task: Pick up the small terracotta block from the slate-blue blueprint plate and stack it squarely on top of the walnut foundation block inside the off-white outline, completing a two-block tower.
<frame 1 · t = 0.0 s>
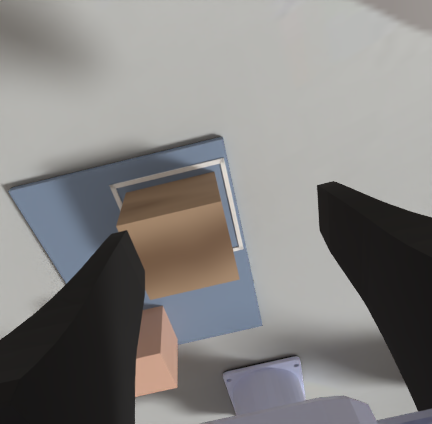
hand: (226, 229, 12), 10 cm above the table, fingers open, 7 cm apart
walnut foundation block: (181, 219, 23), resting on blueprint plate
terracotta block: (145, 328, 29), resting on blueprint plate
blueprint plate: (158, 266, 26), on the table
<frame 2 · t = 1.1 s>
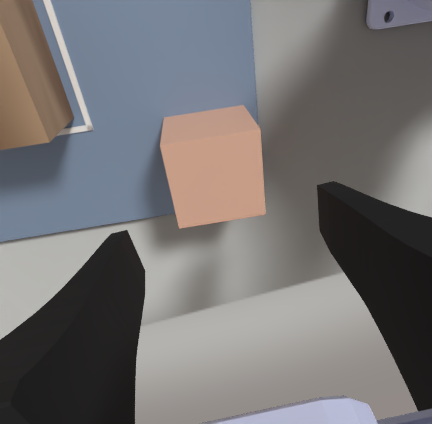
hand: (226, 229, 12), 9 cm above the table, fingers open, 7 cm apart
terracotta block: (209, 149, 20), resting on blueprint plate
blueprint plate: (94, 112, 18), on the table
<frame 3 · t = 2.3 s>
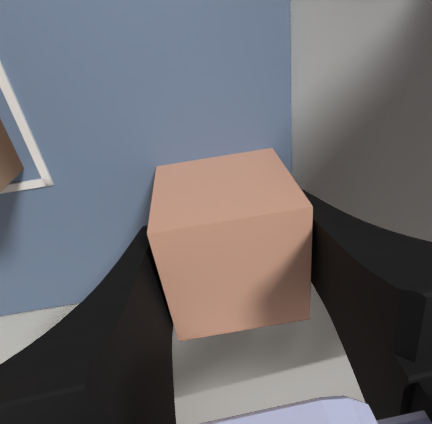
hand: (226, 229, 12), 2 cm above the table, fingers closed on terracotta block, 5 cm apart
terracotta block: (221, 206, 14), resting on blueprint plate, touching gripper
blueprint plate: (55, 158, 13), on the table
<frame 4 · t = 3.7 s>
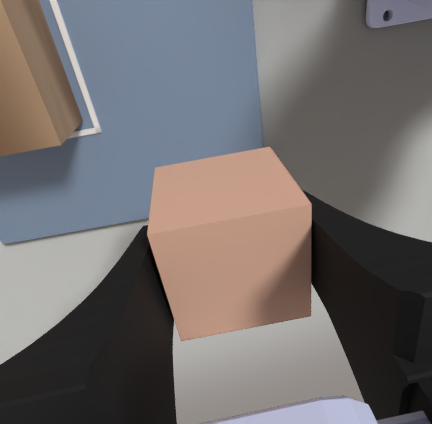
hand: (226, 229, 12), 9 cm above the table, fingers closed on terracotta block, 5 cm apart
walnut foundation block: (4, 73, 17), resting on blueprint plate
terracotta block: (220, 206, 14), point 8 cm above the table, touching gripper
blueprint plate: (102, 115, 19), on the table
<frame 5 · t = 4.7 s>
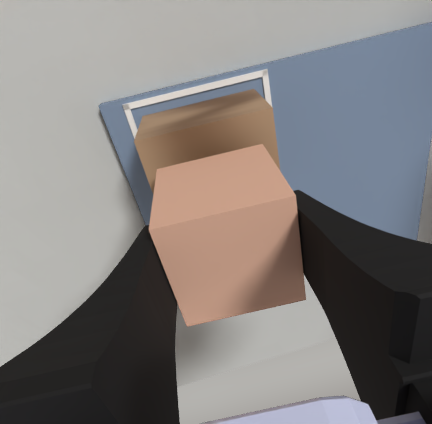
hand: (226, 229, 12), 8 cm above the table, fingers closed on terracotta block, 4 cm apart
walnut foundation block: (210, 154, 19), resting on blueprint plate
terracotta block: (220, 202, 15), point 5 cm above the table, touching gripper
blueprint plate: (282, 180, 21), on the table
when the fingers open (7 cm above the table, at t = 5.3 s): terracotta block stays where it is, resting on walnut foundation block.
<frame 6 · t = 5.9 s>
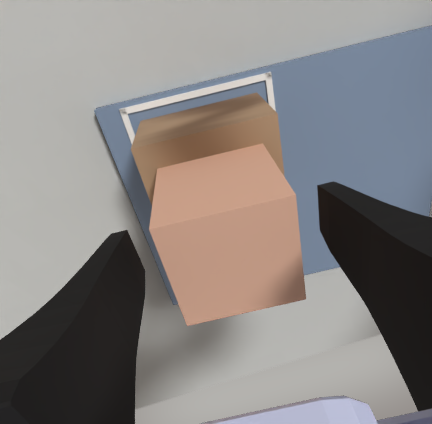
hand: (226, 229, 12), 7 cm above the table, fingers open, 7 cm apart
walnut foundation block: (211, 161, 18), resting on blueprint plate, touching terracotta block
terracotta block: (220, 201, 15), point 4 cm above the table, touching walnut foundation block
blueprint plate: (285, 187, 20), on the table
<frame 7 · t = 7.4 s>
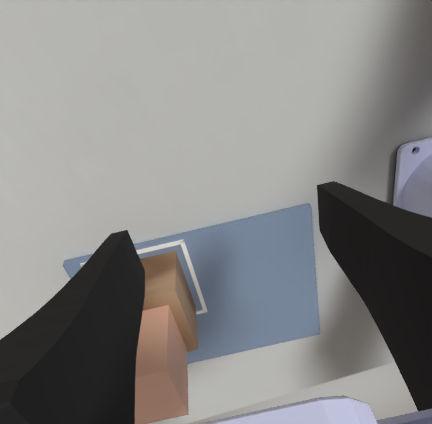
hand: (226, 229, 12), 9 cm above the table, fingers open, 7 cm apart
walnut foundation block: (148, 289, 25), resting on blueprint plate, touching terracotta block
terracotta block: (145, 335, 22), point 4 cm above the table, touching walnut foundation block
blueprint plate: (207, 299, 27), on the table
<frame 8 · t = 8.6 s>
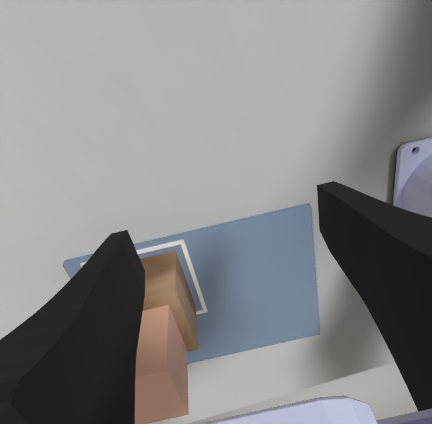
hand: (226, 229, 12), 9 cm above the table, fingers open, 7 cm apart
walnut foundation block: (148, 289, 25), resting on blueprint plate, touching terracotta block
terracotta block: (145, 335, 22), point 4 cm above the table, touching walnut foundation block
blueprint plate: (207, 299, 27), on the table
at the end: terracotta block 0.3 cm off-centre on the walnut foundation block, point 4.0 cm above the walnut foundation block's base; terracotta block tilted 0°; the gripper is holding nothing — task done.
